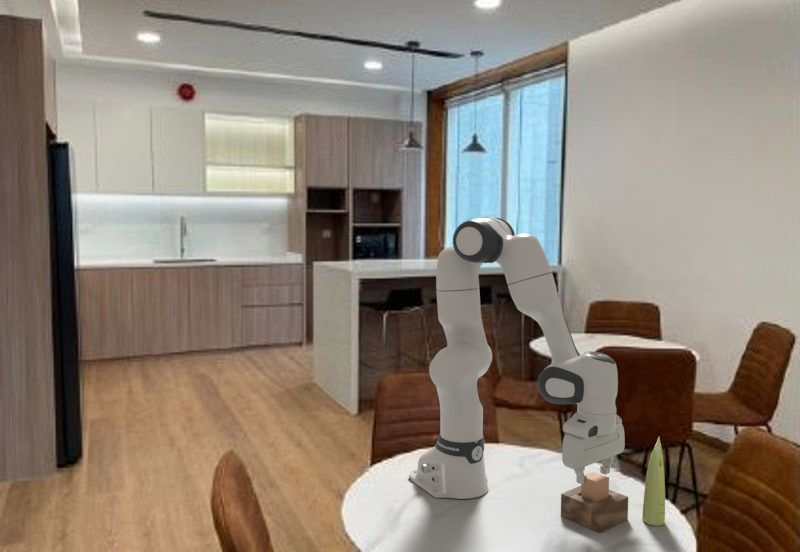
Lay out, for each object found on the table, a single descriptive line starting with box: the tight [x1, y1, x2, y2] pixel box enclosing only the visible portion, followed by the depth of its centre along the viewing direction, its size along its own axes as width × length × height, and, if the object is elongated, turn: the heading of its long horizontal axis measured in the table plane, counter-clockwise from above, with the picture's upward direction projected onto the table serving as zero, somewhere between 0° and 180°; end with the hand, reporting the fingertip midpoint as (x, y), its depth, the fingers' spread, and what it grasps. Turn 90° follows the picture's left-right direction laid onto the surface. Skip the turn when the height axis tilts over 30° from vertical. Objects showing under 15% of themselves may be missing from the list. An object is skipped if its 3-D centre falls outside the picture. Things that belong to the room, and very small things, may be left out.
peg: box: [580, 471, 610, 503], centre depth 155 cm, size 4×4×9 cm
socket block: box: [560, 485, 629, 534], centre depth 156 cm, size 11×11×6 cm
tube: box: [641, 437, 666, 527], centre depth 153 cm, size 6×5×20 cm
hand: (593, 478), depth 155 cm, fingers open, 8 cm apart
